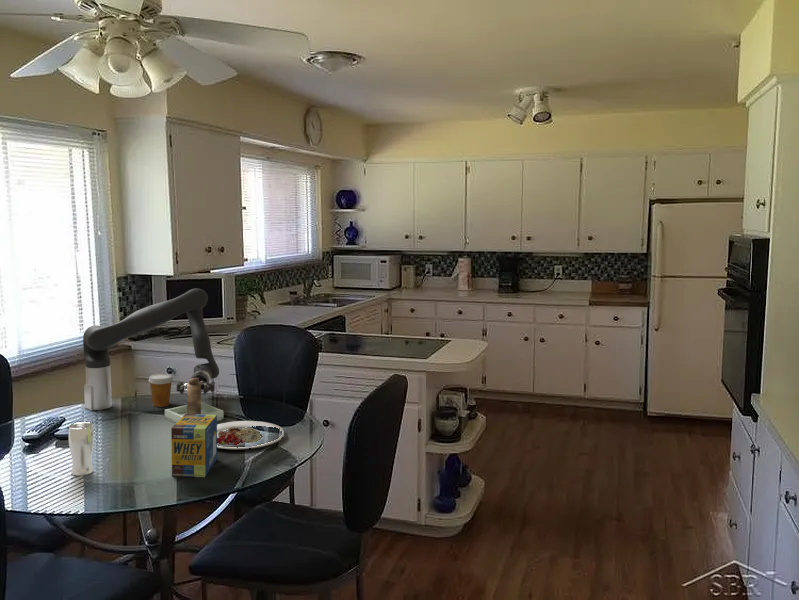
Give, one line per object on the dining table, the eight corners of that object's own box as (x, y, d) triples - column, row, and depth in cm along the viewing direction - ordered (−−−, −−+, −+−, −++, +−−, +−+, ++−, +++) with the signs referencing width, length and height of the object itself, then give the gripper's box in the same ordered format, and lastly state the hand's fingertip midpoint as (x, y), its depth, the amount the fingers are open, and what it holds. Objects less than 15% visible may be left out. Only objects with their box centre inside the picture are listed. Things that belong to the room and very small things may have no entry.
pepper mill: (191, 419, 262) (191, 381, 260) (184, 416, 265) (184, 378, 263) (203, 416, 266) (203, 379, 264) (196, 413, 269) (196, 376, 267)
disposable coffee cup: (178, 404, 284) (177, 376, 283) (159, 409, 276) (158, 380, 275) (162, 400, 289) (162, 372, 288) (143, 405, 281) (143, 377, 280)
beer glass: (88, 466, 215) (86, 420, 213) (99, 472, 211) (97, 425, 209) (65, 472, 210) (64, 425, 208) (76, 478, 205) (74, 430, 203)
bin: (186, 428, 254) (186, 419, 254) (164, 418, 265) (164, 409, 265) (223, 419, 266) (223, 410, 265) (201, 410, 277) (201, 402, 276)
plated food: (293, 428, 259) (293, 419, 258) (271, 456, 229) (271, 446, 229) (217, 423, 262) (217, 415, 261) (185, 450, 232) (184, 441, 232)
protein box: (171, 477, 209) (170, 428, 206) (185, 458, 224) (185, 413, 222) (205, 477, 209) (205, 428, 207) (218, 459, 224) (217, 413, 222)
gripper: (181, 372, 277) (173, 382, 261) (217, 371, 278) (211, 381, 262) (182, 390, 278) (174, 401, 262) (217, 389, 279) (212, 400, 263)
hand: (193, 391), depth 262 cm, fingers open, 8 cm apart
